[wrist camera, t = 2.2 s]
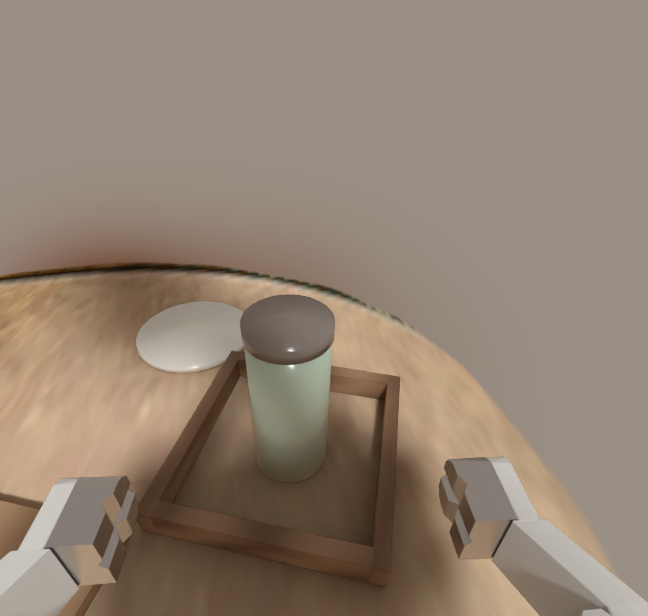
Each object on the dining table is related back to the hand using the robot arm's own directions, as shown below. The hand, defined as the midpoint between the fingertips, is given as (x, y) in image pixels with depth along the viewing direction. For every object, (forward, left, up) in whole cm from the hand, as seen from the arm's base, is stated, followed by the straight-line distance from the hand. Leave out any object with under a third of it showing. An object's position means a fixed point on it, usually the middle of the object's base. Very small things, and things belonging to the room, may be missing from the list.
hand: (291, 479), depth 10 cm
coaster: (-16, +23, -16) cm, 32 cm away
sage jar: (-3, +12, -16) cm, 20 cm away
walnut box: (-3, +12, -16) cm, 20 cm away
